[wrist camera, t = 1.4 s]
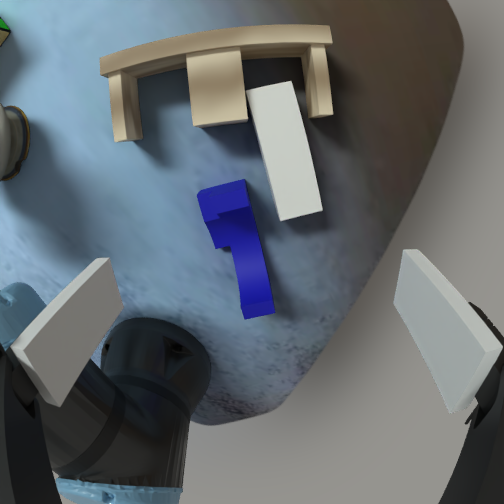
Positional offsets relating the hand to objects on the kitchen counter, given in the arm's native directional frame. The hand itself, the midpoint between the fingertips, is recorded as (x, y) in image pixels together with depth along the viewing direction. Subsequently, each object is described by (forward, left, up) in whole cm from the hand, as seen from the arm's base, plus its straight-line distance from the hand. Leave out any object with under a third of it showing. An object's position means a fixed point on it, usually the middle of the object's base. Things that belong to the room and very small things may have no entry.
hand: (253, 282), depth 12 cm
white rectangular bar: (+5, -4, -18) cm, 19 cm away
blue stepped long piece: (-4, +1, -19) cm, 19 cm away
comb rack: (+12, +1, -18) cm, 22 cm away
